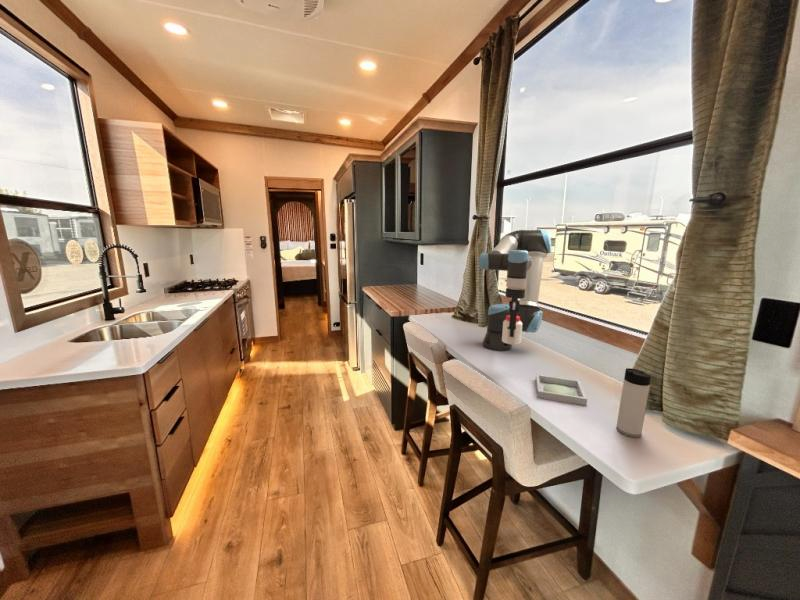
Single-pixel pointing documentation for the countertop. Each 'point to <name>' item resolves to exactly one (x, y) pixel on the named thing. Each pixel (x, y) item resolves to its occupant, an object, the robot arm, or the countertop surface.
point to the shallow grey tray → (557, 396)
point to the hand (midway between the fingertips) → (511, 340)
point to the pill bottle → (505, 330)
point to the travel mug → (633, 402)
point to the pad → (559, 389)
